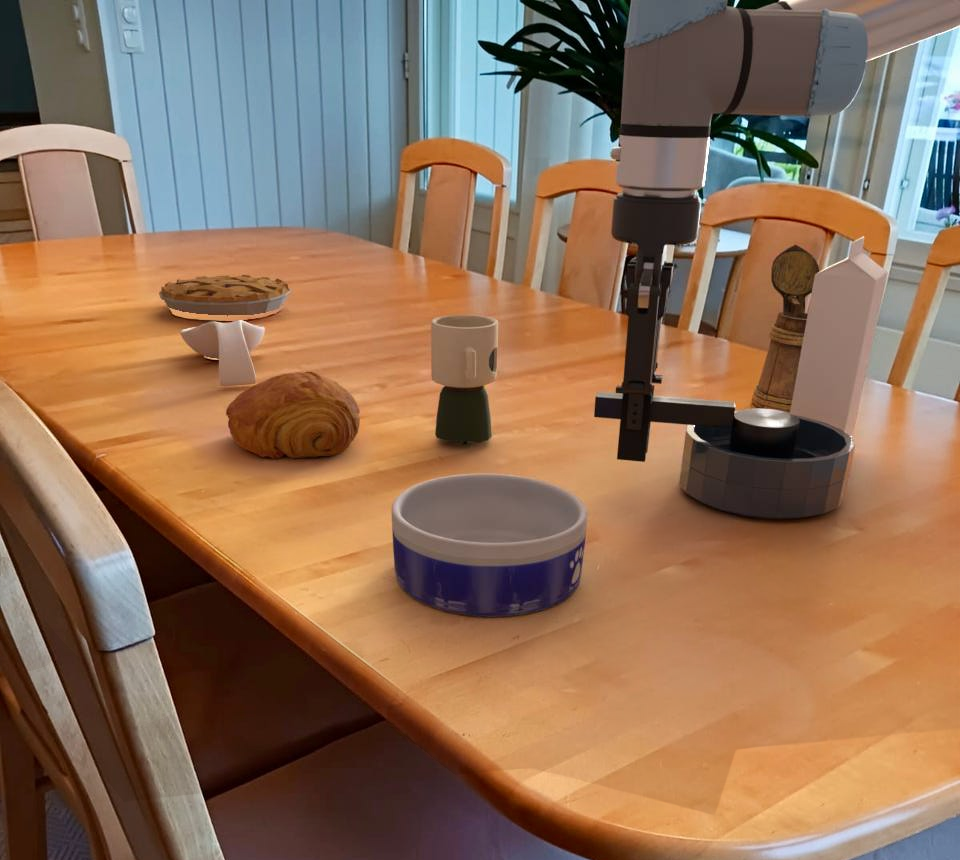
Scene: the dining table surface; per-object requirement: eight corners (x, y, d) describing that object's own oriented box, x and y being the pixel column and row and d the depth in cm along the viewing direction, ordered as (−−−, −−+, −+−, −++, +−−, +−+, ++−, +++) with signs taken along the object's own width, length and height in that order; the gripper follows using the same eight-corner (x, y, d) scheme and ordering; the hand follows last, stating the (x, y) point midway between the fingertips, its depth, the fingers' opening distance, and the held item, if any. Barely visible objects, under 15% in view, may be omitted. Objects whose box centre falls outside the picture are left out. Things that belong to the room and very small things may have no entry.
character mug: (503, 455, 104) (507, 331, 98) (437, 457, 103) (437, 332, 97) (486, 425, 114) (489, 310, 107) (426, 426, 113) (425, 310, 106)
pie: (310, 303, 175) (308, 273, 173) (259, 327, 157) (256, 295, 154) (199, 295, 179) (196, 267, 177) (137, 319, 161) (132, 287, 158)
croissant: (353, 435, 116) (351, 366, 113) (367, 460, 102) (365, 381, 99) (229, 438, 113) (224, 367, 110) (226, 463, 99) (219, 383, 96)
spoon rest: (180, 349, 143) (173, 298, 140) (260, 344, 147) (256, 295, 143) (194, 391, 124) (187, 333, 120) (286, 385, 127) (282, 328, 124)
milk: (849, 451, 108) (897, 238, 97) (837, 466, 103) (886, 245, 93) (794, 441, 111) (835, 233, 100) (780, 455, 106) (821, 239, 95)
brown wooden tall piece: (805, 387, 131) (831, 245, 122) (834, 417, 119) (865, 261, 110) (738, 386, 131) (760, 243, 122) (761, 415, 119) (786, 259, 110)
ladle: (789, 461, 95) (799, 400, 92) (791, 482, 90) (803, 419, 87) (595, 444, 99) (600, 385, 96) (588, 463, 94) (592, 402, 91)
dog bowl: (441, 525, 87) (441, 461, 84) (605, 555, 82) (611, 488, 79) (359, 595, 75) (355, 523, 72) (546, 636, 70) (550, 560, 67)
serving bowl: (833, 474, 101) (845, 417, 98) (849, 531, 88) (863, 468, 85) (682, 460, 104) (689, 405, 101) (675, 514, 91) (683, 452, 88)
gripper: (623, 183, 91) (603, 429, 102) (604, 198, 78) (584, 477, 90) (704, 186, 89) (675, 435, 101) (699, 202, 77) (666, 484, 88)
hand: (632, 454), depth 95 cm, fingers closed on ladle, 2 cm apart
